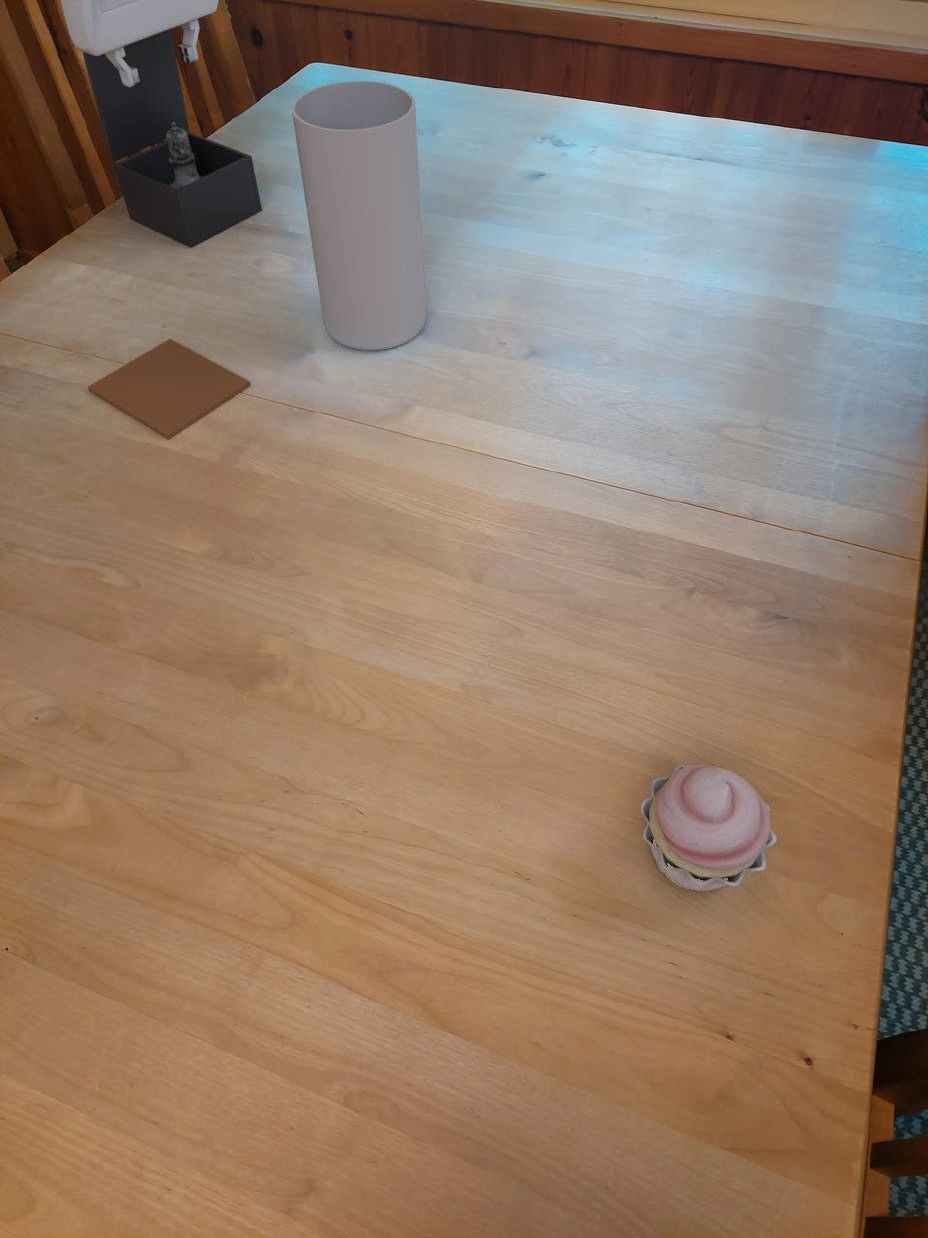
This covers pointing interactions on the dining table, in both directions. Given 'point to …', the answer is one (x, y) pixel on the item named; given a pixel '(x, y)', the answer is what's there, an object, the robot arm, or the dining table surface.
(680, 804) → the cupcake
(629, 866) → the dining table surface
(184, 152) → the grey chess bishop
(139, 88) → the dark hinged lid
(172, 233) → the dark open-top box
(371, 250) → the cylinder vase
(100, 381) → the cork mat
